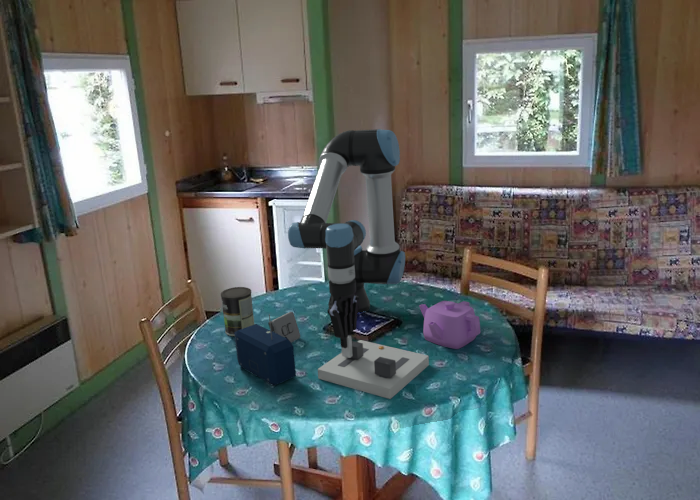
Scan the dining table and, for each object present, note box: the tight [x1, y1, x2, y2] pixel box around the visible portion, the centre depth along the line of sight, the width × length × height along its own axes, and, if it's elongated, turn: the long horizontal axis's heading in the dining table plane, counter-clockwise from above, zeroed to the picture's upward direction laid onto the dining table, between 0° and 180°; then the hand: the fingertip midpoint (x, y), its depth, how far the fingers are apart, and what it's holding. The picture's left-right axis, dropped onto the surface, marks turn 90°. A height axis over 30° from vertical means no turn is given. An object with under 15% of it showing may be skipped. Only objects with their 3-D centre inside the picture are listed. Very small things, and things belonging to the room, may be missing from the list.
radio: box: [234, 313, 297, 387], centre depth 184 cm, size 21×9×20 cm, turn 42°
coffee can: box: [220, 286, 255, 337], centre depth 216 cm, size 10×10×14 cm
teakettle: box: [418, 300, 481, 350], centre depth 200 cm, size 17×17×12 cm
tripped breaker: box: [351, 340, 363, 360], centre depth 186 cm, size 3×5×4 cm, turn 56°
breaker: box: [374, 357, 396, 378], centre depth 174 cm, size 3×5×4 cm, turn 56°
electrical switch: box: [268, 311, 301, 344], centre depth 206 cm, size 9×5×9 cm, turn 141°
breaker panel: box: [317, 339, 430, 400], centre depth 183 cm, size 22×24×3 cm
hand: (347, 356), depth 184 cm, fingers closed
